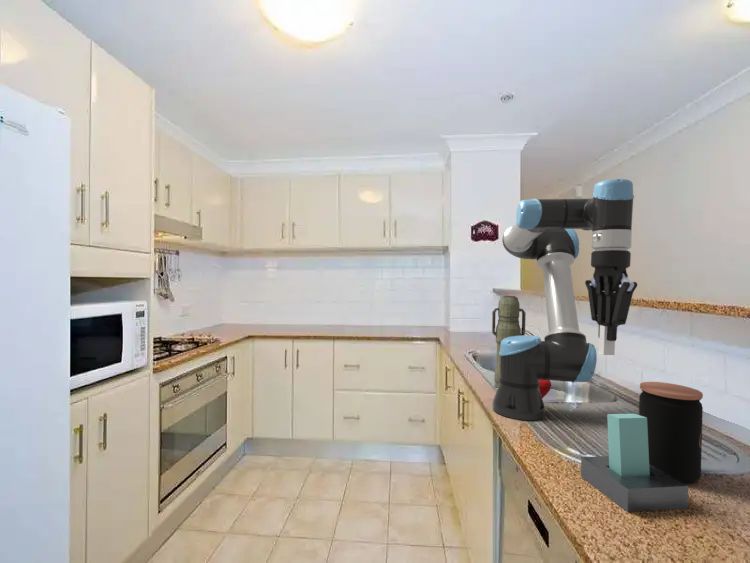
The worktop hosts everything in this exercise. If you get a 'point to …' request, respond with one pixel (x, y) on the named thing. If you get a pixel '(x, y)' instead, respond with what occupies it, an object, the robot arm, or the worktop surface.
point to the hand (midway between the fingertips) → (606, 354)
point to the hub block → (635, 487)
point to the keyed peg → (628, 445)
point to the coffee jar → (673, 428)
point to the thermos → (506, 325)
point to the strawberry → (544, 387)
